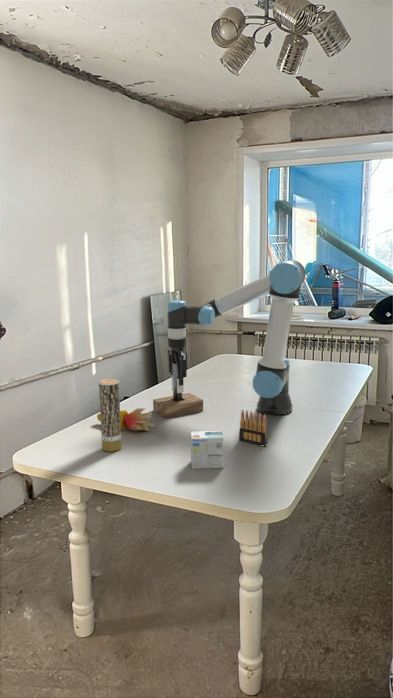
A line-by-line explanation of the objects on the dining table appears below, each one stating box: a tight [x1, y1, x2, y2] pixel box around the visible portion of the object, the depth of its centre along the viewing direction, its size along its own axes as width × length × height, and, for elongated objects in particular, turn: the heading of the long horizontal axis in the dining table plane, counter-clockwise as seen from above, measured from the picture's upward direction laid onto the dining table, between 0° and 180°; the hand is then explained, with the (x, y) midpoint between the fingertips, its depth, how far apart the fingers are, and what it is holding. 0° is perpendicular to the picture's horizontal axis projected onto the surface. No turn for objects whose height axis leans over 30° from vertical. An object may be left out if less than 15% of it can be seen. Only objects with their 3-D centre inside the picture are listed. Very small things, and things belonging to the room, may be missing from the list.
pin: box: [172, 363, 183, 401], centre depth 225 cm, size 4×4×16 cm
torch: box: [96, 407, 156, 432], centre depth 207 cm, size 8×8×25 cm
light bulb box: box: [190, 430, 225, 470], centre depth 173 cm, size 11×7×11 cm, turn 92°
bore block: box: [152, 392, 204, 419], centre depth 227 cm, size 12×18×5 cm, turn 121°
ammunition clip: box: [238, 409, 268, 447], centre depth 191 cm, size 11×2×12 cm, turn 58°
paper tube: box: [98, 378, 122, 453], centre depth 185 cm, size 7×7×25 cm
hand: (177, 390), depth 226 cm, fingers closed on pin, 4 cm apart
